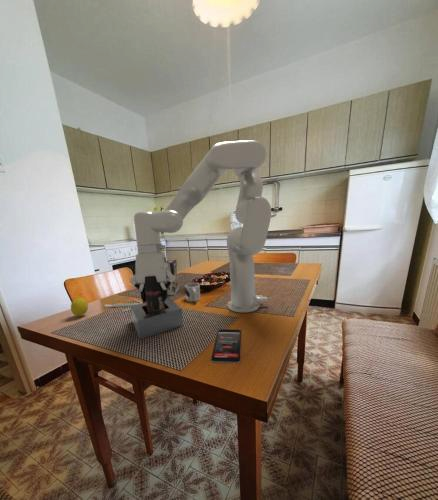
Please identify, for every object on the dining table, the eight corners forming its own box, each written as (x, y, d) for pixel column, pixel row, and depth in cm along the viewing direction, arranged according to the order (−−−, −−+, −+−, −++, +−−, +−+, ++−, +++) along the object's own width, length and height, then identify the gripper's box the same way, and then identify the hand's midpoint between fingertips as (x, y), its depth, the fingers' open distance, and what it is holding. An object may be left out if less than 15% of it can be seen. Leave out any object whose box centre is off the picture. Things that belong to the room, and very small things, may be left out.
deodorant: (160, 320, 68) (156, 276, 66) (144, 319, 69) (139, 276, 67) (168, 312, 73) (164, 272, 71) (153, 312, 75) (149, 272, 73)
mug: (184, 297, 95) (183, 284, 94) (198, 295, 97) (197, 282, 96) (188, 305, 86) (187, 290, 85) (203, 303, 88) (202, 288, 87)
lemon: (69, 318, 79) (66, 299, 78) (82, 312, 84) (80, 294, 83) (78, 320, 77) (75, 300, 76) (92, 314, 82) (89, 295, 81)
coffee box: (175, 295, 99) (172, 262, 97) (162, 295, 100) (159, 263, 97) (179, 289, 108) (176, 259, 106) (167, 289, 109) (164, 260, 106)
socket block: (170, 311, 81) (168, 296, 80) (183, 325, 69) (181, 308, 68) (132, 321, 74) (130, 306, 73) (139, 339, 62) (137, 320, 61)
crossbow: (146, 302, 96) (146, 297, 95) (137, 314, 83) (136, 309, 83) (111, 302, 95) (111, 298, 95) (96, 314, 82) (96, 309, 82)
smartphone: (210, 361, 50) (218, 329, 65) (210, 363, 50) (218, 331, 65) (240, 361, 49) (241, 329, 64) (240, 364, 49) (241, 331, 64)
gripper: (177, 246, 72) (181, 295, 74) (128, 249, 71) (134, 298, 74) (173, 249, 64) (178, 303, 67) (118, 252, 64) (125, 306, 66)
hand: (155, 300), depth 70 cm, fingers closed on deodorant, 6 cm apart
